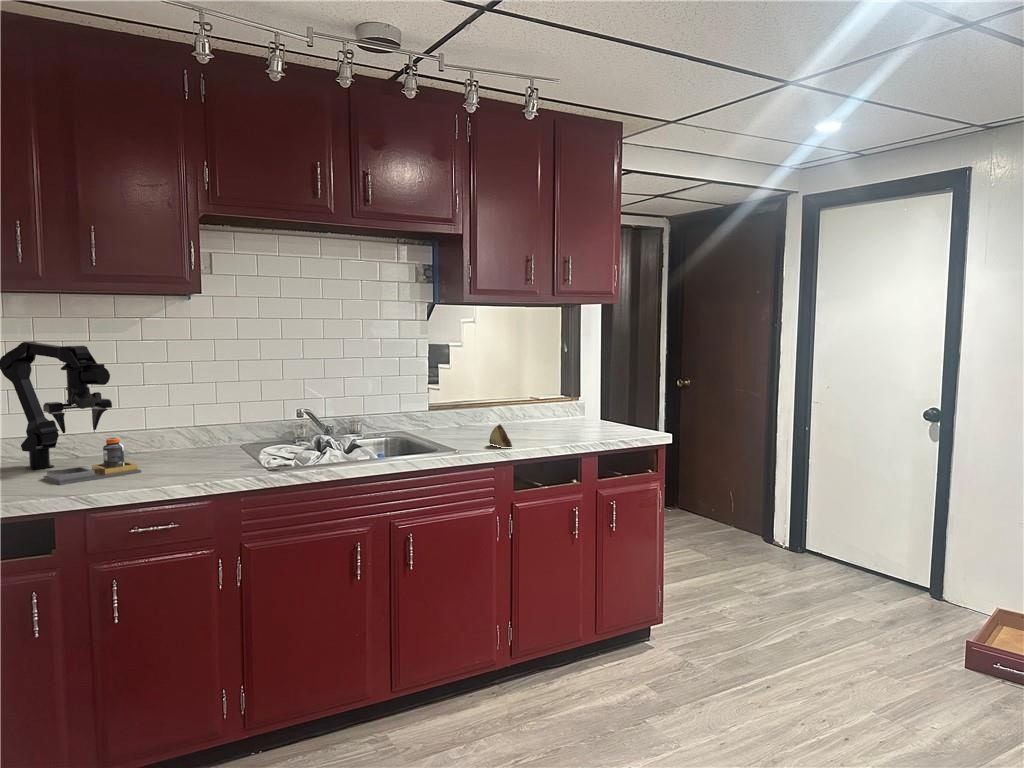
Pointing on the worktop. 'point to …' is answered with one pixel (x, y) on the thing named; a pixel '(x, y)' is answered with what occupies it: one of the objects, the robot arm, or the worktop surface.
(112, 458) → the pill bottle
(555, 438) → the worktop surface
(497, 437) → the rock
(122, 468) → the faceplate
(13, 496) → the worktop surface
